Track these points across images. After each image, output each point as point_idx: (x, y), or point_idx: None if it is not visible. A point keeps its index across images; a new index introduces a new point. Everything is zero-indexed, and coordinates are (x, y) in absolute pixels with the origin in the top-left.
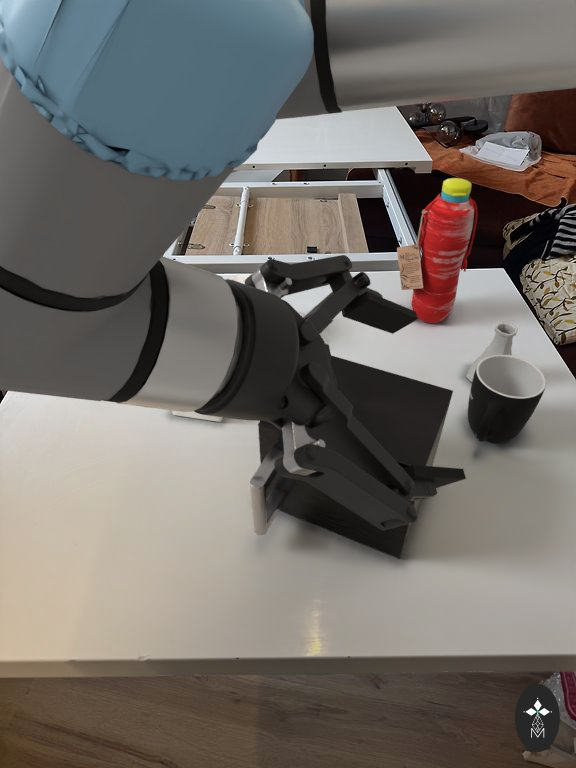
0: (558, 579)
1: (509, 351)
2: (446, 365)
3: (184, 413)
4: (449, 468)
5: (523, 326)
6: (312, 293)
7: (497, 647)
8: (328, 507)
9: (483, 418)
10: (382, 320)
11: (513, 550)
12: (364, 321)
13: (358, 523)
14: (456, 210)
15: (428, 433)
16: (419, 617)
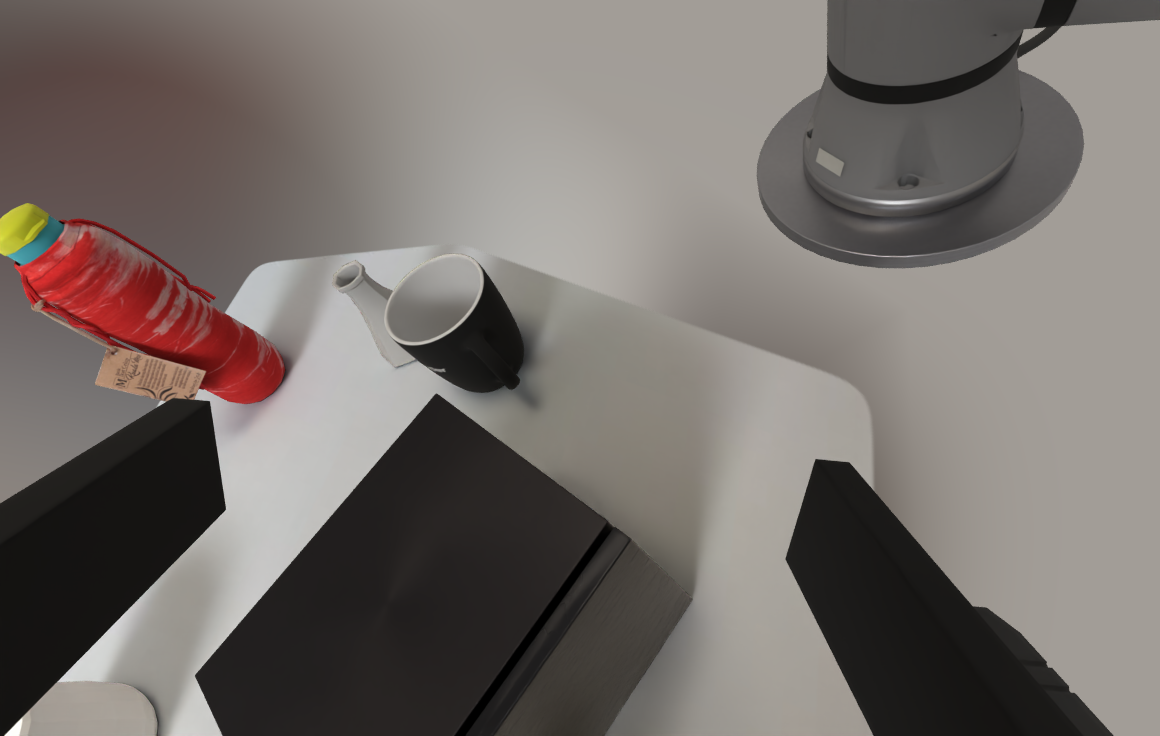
0: (758, 363)
1: (385, 289)
2: (363, 388)
3: None
4: (861, 514)
5: None
6: None
7: None
8: (580, 732)
9: (488, 365)
10: (119, 555)
11: (703, 406)
12: (61, 658)
13: (626, 670)
14: (70, 250)
15: (517, 476)
16: None
